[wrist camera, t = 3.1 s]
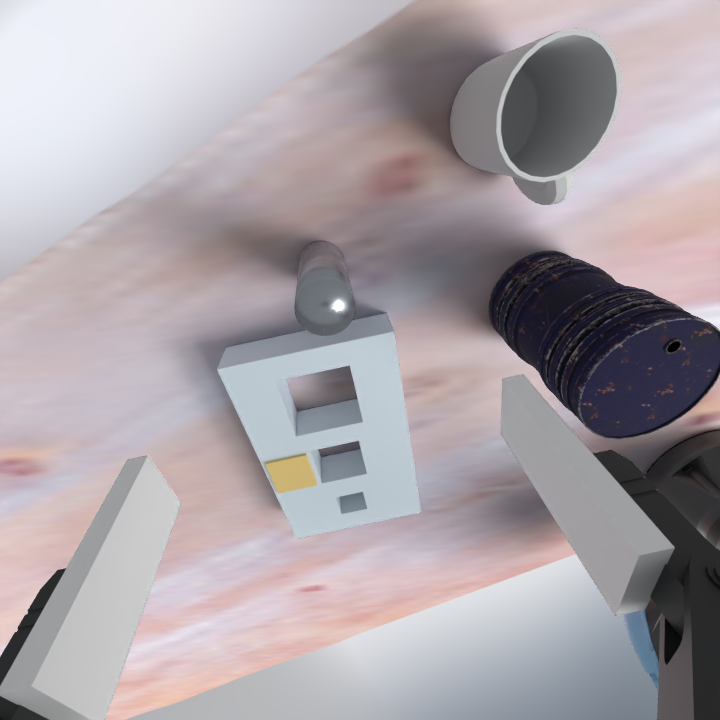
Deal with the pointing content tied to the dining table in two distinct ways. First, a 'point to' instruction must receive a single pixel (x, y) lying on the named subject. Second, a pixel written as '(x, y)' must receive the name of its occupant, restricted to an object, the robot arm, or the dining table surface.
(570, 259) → the storage jar
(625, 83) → the dining table surface
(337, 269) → the grey rounded cylinder
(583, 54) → the cup
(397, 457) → the block
